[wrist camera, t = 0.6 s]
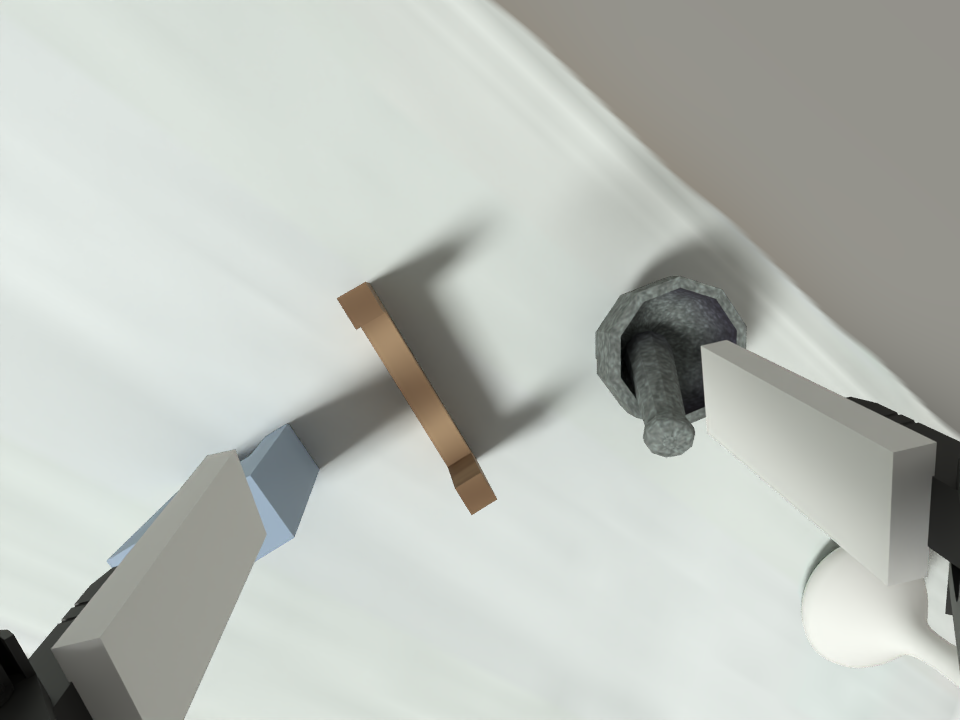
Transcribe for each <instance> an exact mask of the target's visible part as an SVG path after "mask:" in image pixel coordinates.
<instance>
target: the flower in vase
mask: <svg viewBox="0 0 960 720" xmlns="http://www.w3.org/2000/svg"><path fill="white" fill-rule="evenodd" d="M801 617H802V623H803V627H804V631H805V634H806V637H807V639H808V641H809V643H810V644H811V646H812V647H813V648H814V650H815V651H816V652H817V653H818V654H819V655H821V656H822V657H823V658H825V659H827V660H828V661H831V662H833V663H836V664H839V665H842V666H845V667H849V668H866V667H873V666H878V665H882V664H885V663H888V662H890V661H893V660H895V659H897V658H899V657H901V656H903V655H910V656H913V657H915V658H917V659H919V660H921V661H923V662H925V663H926V664H928V665H929V666H931V667H932V668H934V669H935V670H937V671H938V672H939V673H941V674H942V675H943V676H945V677H946V678H947V679H949V680H950V681H951V682H952V683H953V684H954V685H956V686H957V687H958V688H959V689H960V670H959V662H958V654H957V647H956V646H954V645H953V644H951V643H949V642H948V641H947V640H945V639H944V638H942V637H941V636H939V635H938V634H937V633H936V632H935V631H933V630H932V629H931V628H930V626H929V625H928V622H927V617H928V595H927V590H926V586H925V581H924V578H921V579H917V580H913V581H908V582H904V583H900V584H896V585H892V586H887V585H885V584H884V583H883V582H882V581H881V580H880V579H878V578H877V577H876V576H875V575H874V574H872V573H871V572H870V571H869V570H868V569H867V568H865V567H864V566H863V565H862V564H861V563H859V562H858V561H857V560H856V559H855V558H854V557H852V556H851V555H850V554H849V553H848V552H846V551H845V550H844V549H843V548H842V547H841V546H840V547H839V548H837V549H835V550H834V551H832V552H831V553H830V554H828V555H827V556H826V557H825V558H824V559H823V560H822V561H821V562H820V563H819V564H818V566H817V567H816V568H815V569H814V571H813V572H812V574H811V576H810V578H809V580H808V582H807V584H806V586H805V589H804V593H803V596H802V603H801Z"/></svg>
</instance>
